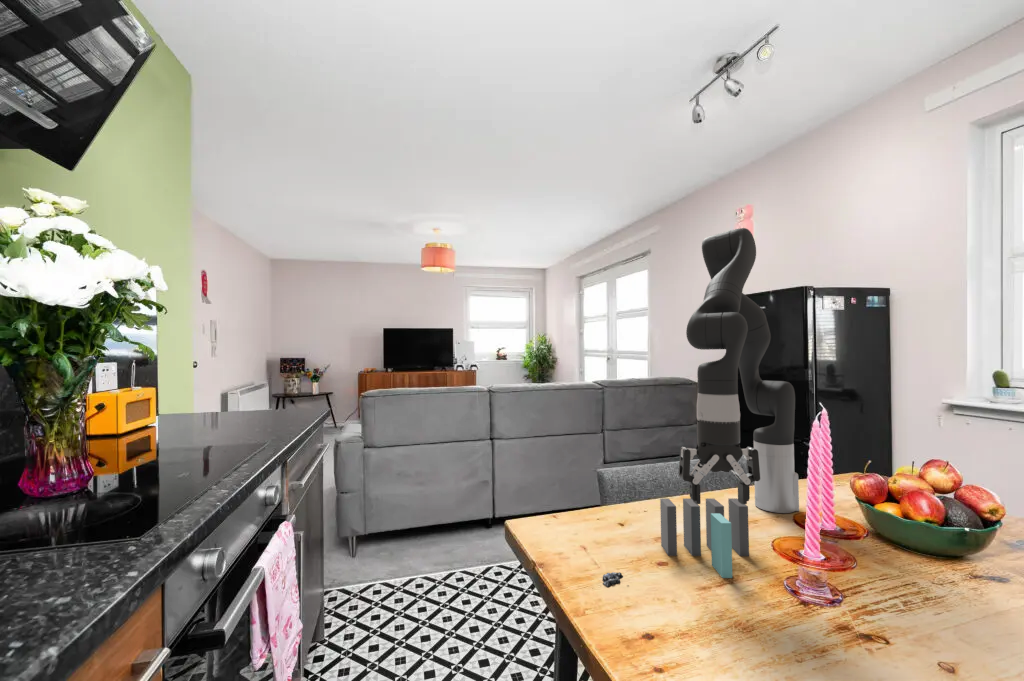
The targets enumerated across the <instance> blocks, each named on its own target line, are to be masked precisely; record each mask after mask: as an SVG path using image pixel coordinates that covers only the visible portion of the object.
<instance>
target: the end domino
mask: <svg viewBox="0 0 1024 681" xmlns="http://www.w3.org/2000/svg"><path fill="white" fill-rule="evenodd" d="M710 551H711V567H713V569H714V570H715V571H716V572H717V573H718V574H719V576H720V577H721V578H722V579H733V549H732V535H731V523H730V522H729V519H727V518H726V517H725V515H724V516H722V515H721V514H720V513H711V550H710Z"/></svg>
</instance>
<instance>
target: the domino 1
mask: <svg viewBox="0 0 1024 681" xmlns="http://www.w3.org/2000/svg"><path fill="white" fill-rule="evenodd" d="M659 504H660V508H659V509H660V544H661V547H662V549H663V551H664V552H665V553H666V555H667V556H668V557H672V556H673V557H676V556H677V557H678V537H677V535H678V530H677V528H678V527H677V505H676V504H675V503H674V502H673V501H672V500H671V499H670V498H662V497H661V498H660V500H659Z"/></svg>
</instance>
